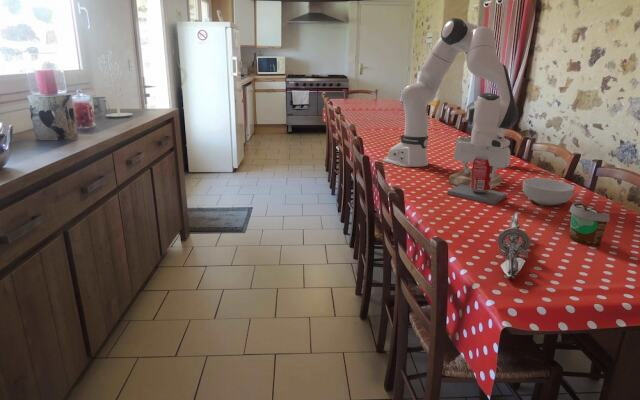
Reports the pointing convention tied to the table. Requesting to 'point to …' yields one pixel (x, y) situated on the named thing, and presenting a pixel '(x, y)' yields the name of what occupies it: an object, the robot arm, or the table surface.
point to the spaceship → (513, 247)
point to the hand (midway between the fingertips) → (478, 175)
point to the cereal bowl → (547, 191)
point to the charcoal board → (476, 194)
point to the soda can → (481, 175)
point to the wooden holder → (466, 179)
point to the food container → (587, 224)
